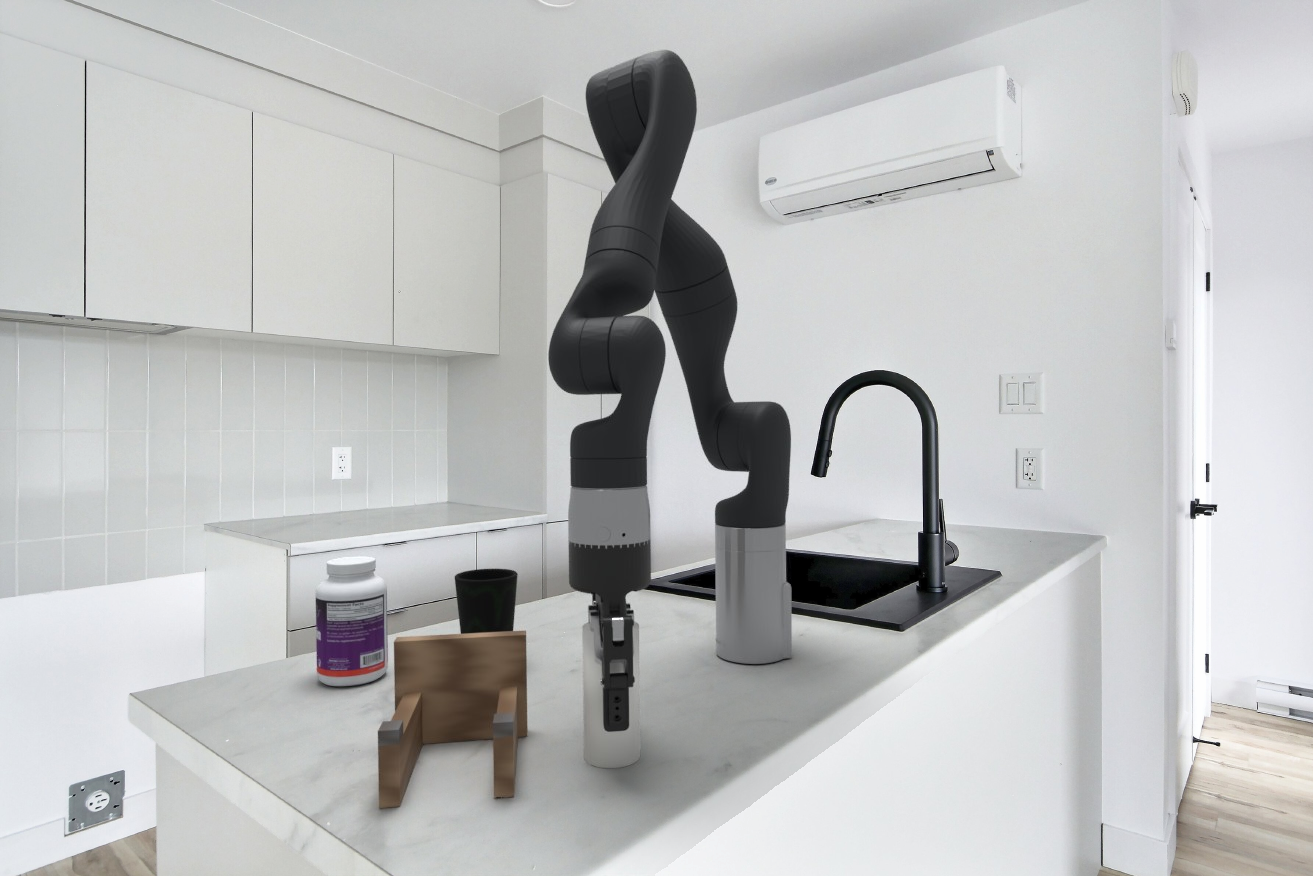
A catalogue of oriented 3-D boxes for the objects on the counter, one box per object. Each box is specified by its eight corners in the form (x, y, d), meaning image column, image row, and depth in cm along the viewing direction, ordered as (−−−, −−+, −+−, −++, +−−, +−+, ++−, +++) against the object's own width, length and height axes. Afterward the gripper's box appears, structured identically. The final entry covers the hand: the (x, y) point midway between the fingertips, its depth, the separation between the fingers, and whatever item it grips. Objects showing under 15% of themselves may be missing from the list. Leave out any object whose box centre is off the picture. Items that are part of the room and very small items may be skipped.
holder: (527, 729, 75) (526, 630, 75) (525, 795, 62) (523, 675, 62) (398, 739, 73) (396, 637, 73) (367, 809, 60) (365, 684, 60)
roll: (636, 741, 72) (635, 615, 72) (644, 765, 67) (642, 630, 67) (582, 745, 72) (580, 618, 71) (585, 770, 66) (584, 633, 66)
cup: (504, 682, 90) (502, 581, 89) (444, 678, 91) (443, 579, 91) (527, 662, 97) (526, 569, 97) (472, 659, 99) (471, 567, 98)
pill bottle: (330, 668, 95) (328, 555, 95) (395, 666, 96) (393, 553, 96) (306, 691, 87) (304, 567, 87) (377, 688, 88) (375, 565, 88)
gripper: (662, 546, 63) (664, 741, 63) (639, 524, 77) (641, 683, 77) (571, 549, 61) (574, 748, 62) (565, 526, 75) (567, 688, 76)
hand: (611, 711), depth 69 cm, fingers open, 8 cm apart
